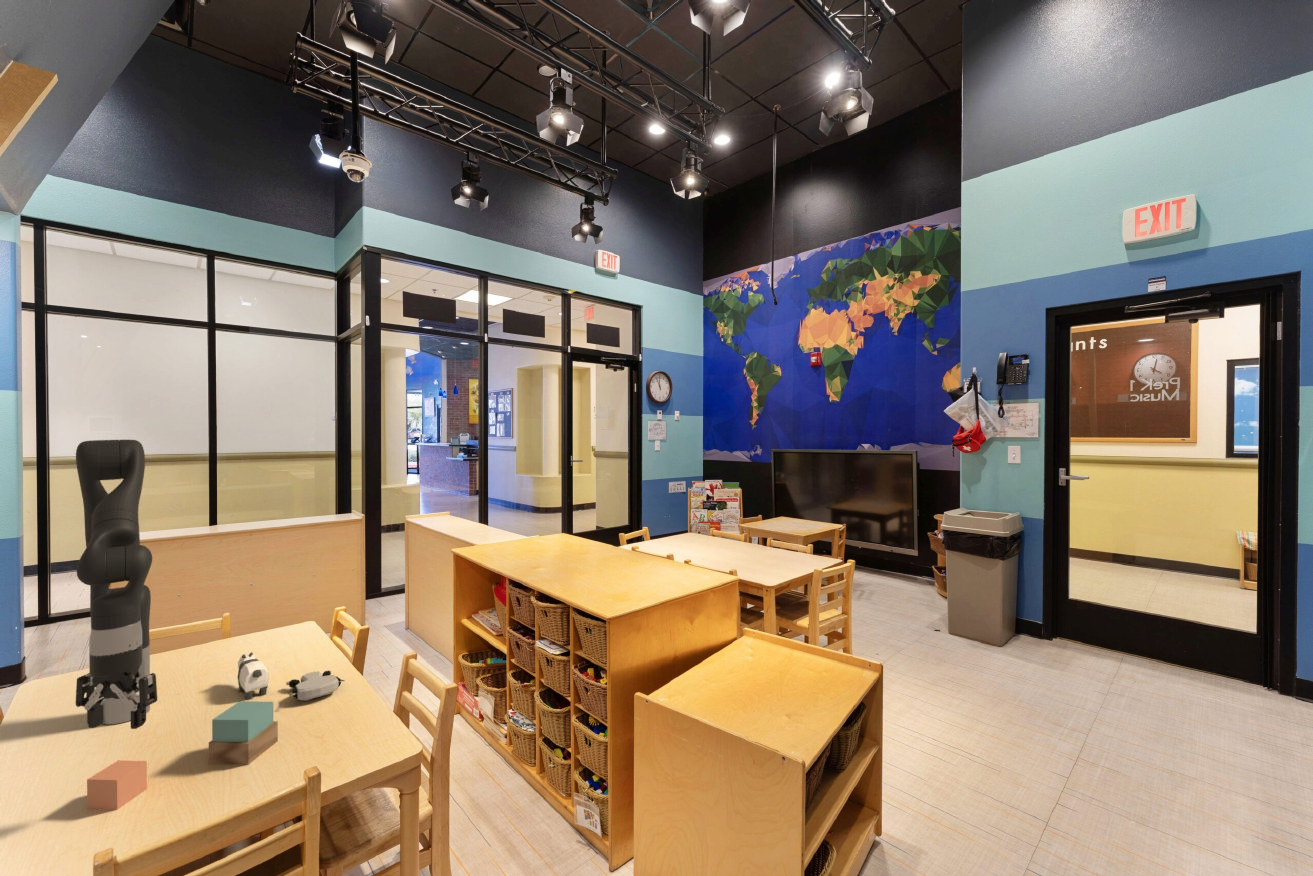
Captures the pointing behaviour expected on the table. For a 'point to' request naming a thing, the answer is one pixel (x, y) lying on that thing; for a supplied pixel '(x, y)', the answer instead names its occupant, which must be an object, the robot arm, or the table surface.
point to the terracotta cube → (116, 785)
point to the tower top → (242, 721)
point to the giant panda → (252, 676)
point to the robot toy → (314, 685)
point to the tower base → (243, 748)
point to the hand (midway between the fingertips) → (117, 726)
